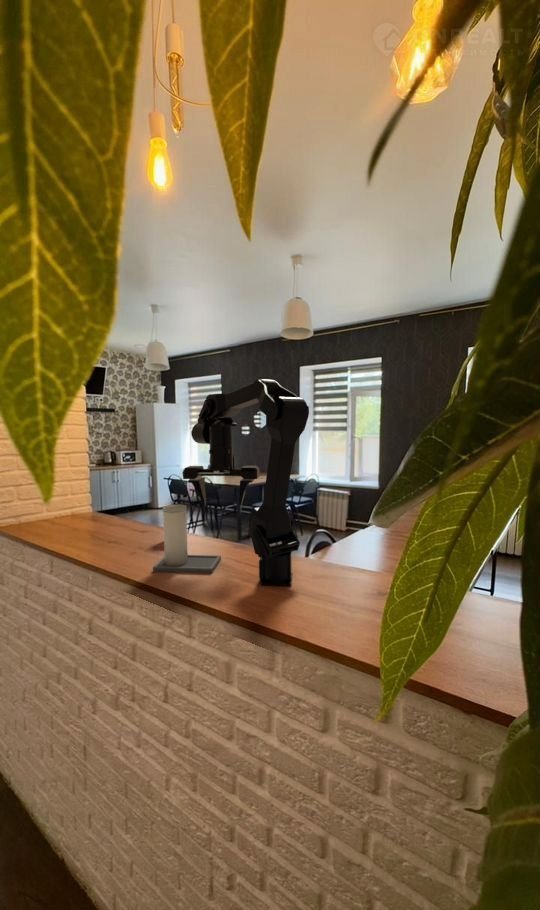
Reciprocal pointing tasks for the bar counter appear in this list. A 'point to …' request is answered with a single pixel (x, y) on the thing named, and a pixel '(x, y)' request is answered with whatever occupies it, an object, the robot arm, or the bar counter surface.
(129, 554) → the bar counter surface
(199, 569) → the bar mat
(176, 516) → the tumbler
